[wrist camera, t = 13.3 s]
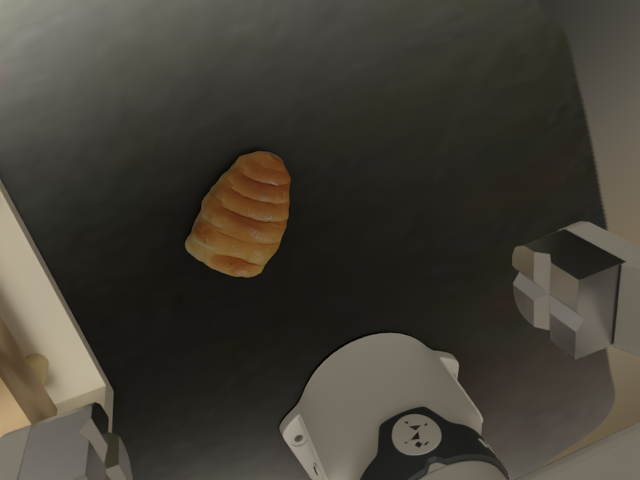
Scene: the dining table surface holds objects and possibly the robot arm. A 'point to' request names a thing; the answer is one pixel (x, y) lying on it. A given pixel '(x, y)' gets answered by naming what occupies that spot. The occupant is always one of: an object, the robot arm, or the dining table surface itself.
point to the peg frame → (45, 321)
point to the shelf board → (19, 388)
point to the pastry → (243, 216)
